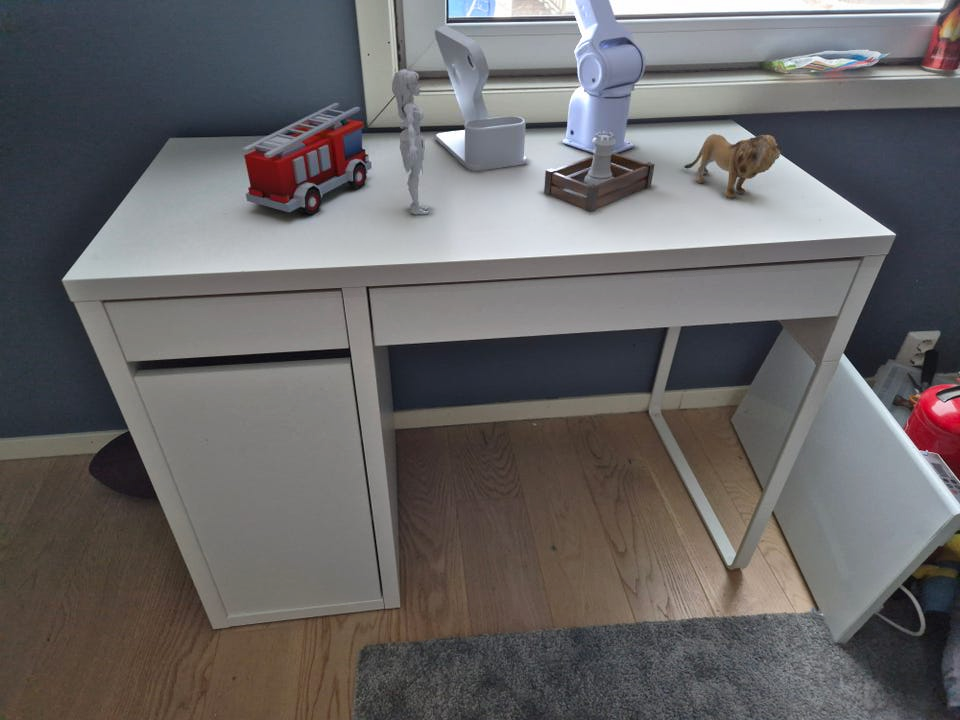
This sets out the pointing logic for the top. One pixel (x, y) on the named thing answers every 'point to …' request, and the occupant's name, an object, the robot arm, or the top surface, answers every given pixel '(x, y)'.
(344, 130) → the toy fire truck
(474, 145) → the phone holder
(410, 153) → the human figurine
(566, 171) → the crate
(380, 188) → the top surface
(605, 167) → the rook chess piece
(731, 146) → the lion figurine
